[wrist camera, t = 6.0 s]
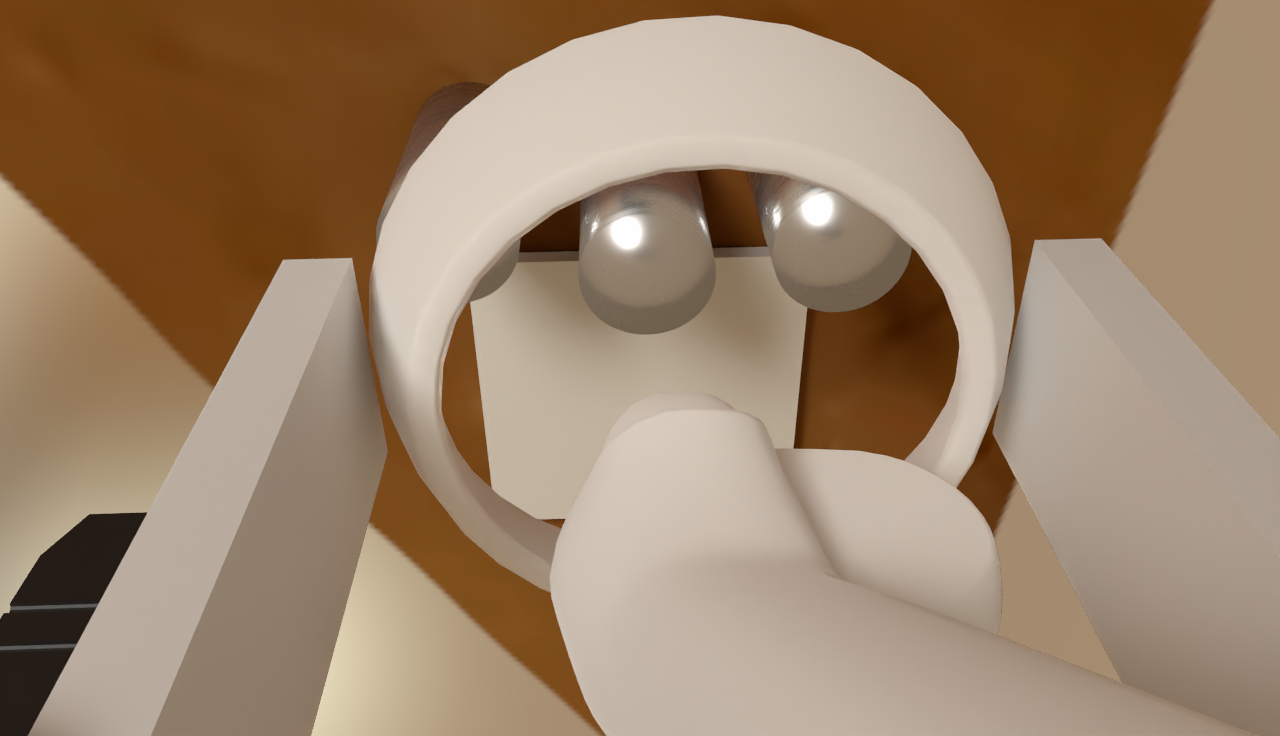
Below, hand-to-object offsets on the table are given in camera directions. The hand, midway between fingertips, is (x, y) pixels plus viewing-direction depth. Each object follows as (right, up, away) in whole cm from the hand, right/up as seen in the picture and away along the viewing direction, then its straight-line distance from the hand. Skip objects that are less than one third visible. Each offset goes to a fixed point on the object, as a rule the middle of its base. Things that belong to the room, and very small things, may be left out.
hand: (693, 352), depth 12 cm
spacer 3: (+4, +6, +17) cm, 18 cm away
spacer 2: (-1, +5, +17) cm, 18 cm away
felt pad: (-1, -1, +21) cm, 21 cm away
